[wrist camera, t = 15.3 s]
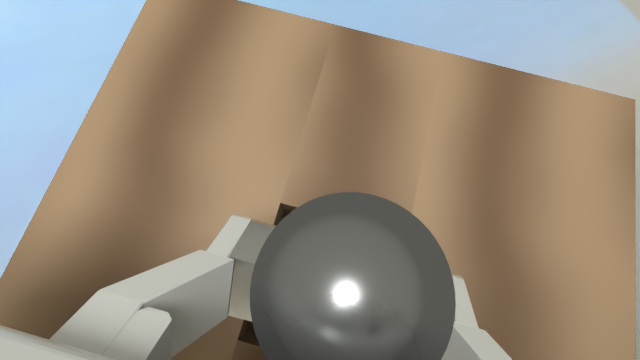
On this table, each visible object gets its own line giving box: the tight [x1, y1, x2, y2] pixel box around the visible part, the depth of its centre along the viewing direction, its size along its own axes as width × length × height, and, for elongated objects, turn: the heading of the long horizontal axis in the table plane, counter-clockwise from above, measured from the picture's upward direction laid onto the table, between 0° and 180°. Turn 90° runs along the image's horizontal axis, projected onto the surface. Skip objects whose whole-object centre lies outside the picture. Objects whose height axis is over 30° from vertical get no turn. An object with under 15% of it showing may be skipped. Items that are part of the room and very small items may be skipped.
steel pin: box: [250, 192, 456, 360], centre depth 10 cm, size 3×3×10 cm
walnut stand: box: [0, 0, 636, 360], centre depth 14 cm, size 20×20×5 cm
